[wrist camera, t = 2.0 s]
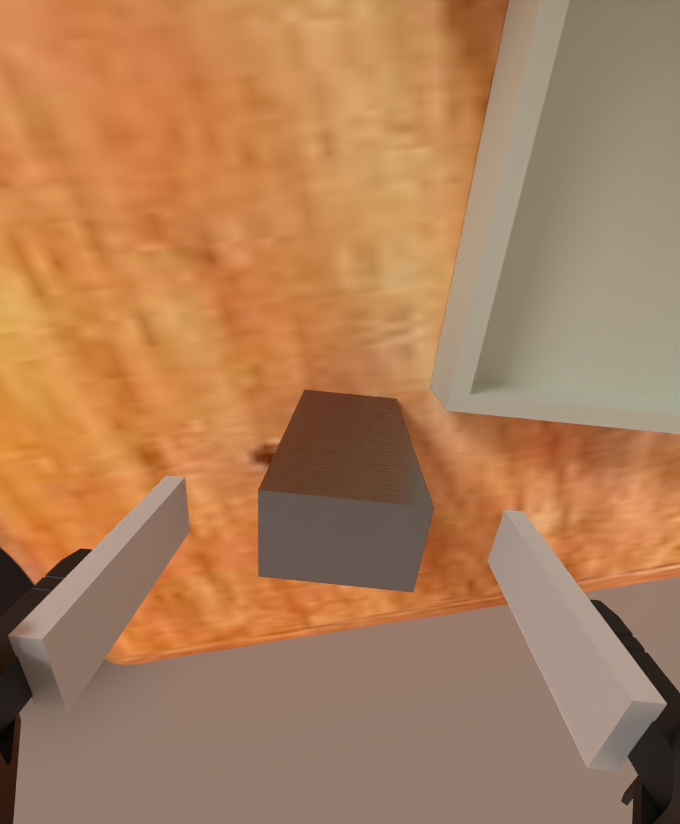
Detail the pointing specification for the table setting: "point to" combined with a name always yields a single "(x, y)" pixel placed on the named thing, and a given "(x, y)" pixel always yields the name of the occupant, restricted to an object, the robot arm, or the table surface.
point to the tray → (573, 224)
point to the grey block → (344, 496)
